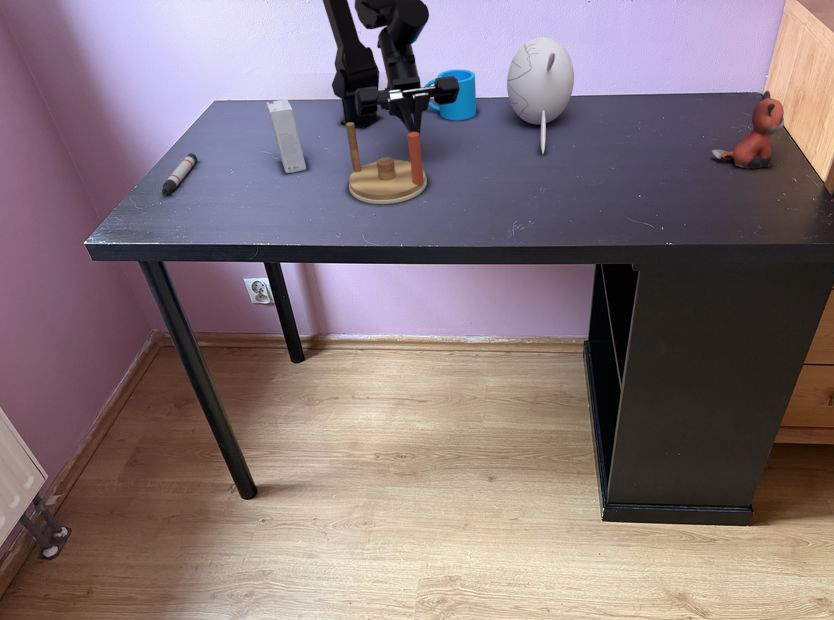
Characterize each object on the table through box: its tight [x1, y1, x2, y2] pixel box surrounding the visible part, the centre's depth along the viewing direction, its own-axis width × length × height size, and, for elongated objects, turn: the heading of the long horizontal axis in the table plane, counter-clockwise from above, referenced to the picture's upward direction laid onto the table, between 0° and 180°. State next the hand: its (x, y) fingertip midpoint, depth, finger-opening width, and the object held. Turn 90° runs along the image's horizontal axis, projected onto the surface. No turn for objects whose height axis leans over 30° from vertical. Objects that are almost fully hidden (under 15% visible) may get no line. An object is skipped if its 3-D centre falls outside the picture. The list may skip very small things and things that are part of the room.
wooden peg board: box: [345, 122, 426, 200], centre depth 119 cm, size 14×14×10 cm
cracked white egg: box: [506, 36, 575, 155], centre depth 134 cm, size 19×14×25 cm
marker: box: [161, 152, 198, 195], centre depth 127 cm, size 15×2×2 cm, turn 178°
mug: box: [423, 68, 477, 121], centre depth 145 cm, size 12×8×8 cm
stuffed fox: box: [711, 90, 785, 170], centre depth 120 cm, size 8×11×12 cm
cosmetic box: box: [266, 98, 307, 174], centre depth 126 cm, size 6×4×12 cm
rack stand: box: [348, 175, 428, 205], centre depth 122 cm, size 14×14×1 cm
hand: (417, 140), depth 120 cm, fingers closed
